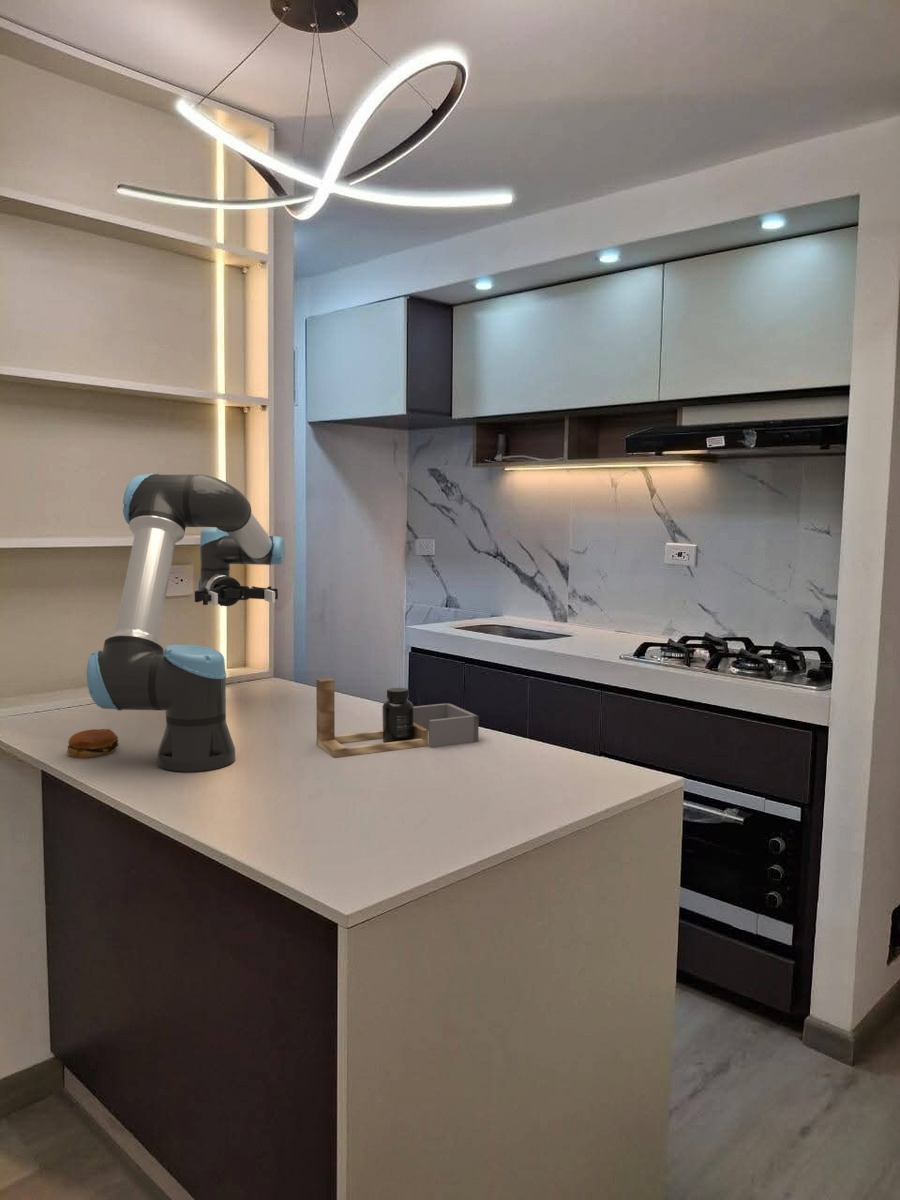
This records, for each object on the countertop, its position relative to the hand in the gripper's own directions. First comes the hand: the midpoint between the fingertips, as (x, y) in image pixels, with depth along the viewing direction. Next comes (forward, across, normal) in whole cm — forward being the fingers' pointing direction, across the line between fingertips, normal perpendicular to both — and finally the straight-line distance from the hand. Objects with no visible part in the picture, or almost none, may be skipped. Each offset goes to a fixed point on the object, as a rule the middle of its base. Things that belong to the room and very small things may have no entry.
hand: (245, 598), depth 209 cm
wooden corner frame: (+32, -19, -30) cm, 48 cm away
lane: (+32, -36, -30) cm, 56 cm away
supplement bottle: (+31, -25, -30) cm, 50 cm away
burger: (+11, +35, -30) cm, 48 cm away
